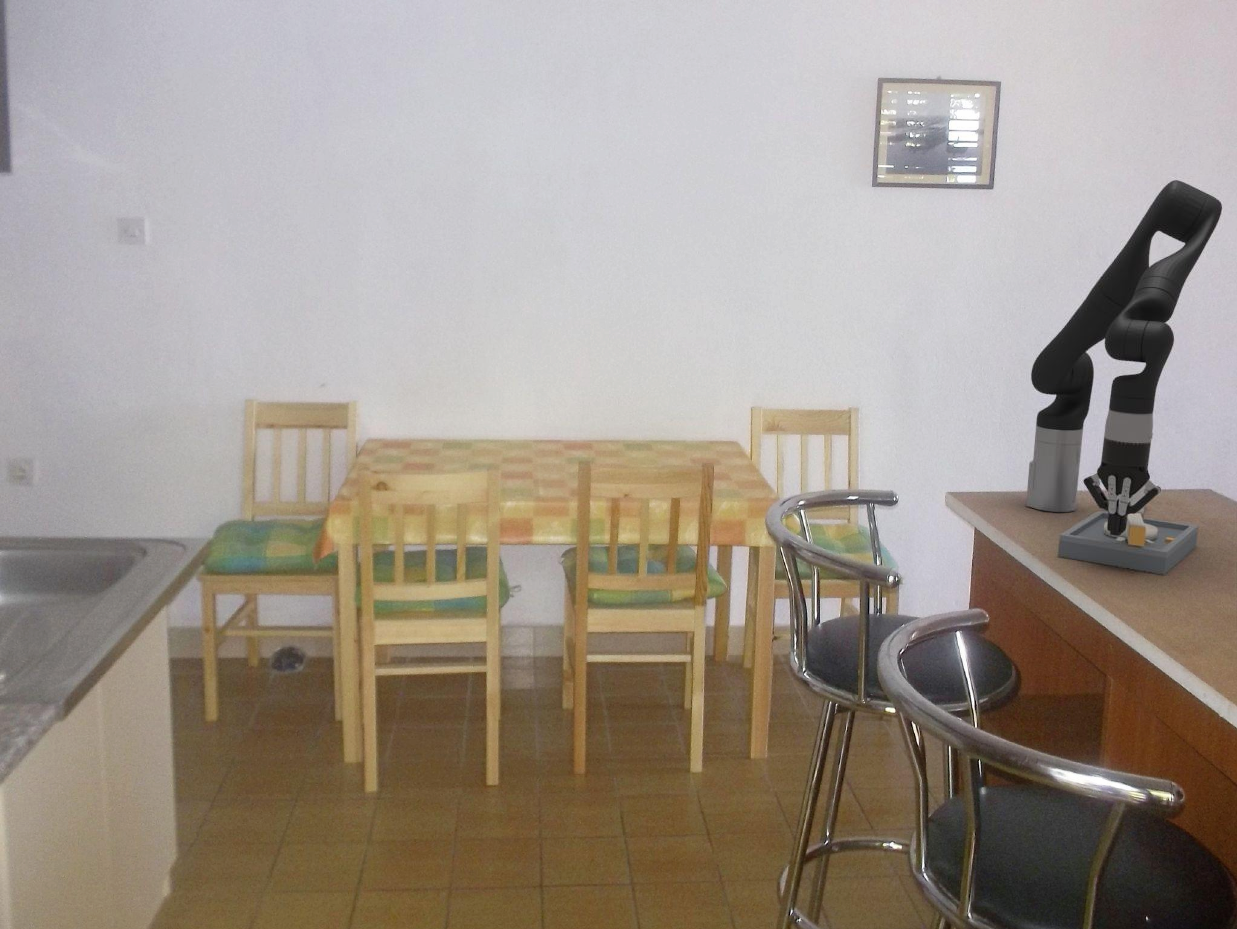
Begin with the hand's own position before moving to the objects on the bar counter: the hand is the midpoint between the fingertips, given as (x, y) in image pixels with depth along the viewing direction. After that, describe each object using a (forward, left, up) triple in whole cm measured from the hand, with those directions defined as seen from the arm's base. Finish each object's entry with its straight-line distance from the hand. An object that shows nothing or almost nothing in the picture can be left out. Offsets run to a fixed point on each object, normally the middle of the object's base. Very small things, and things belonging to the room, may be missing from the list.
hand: (1115, 534), depth 214 cm
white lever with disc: (+1, +7, -2) cm, 8 cm away
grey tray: (0, +12, -6) cm, 13 cm away
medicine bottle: (-10, +48, -6) cm, 49 cm away
